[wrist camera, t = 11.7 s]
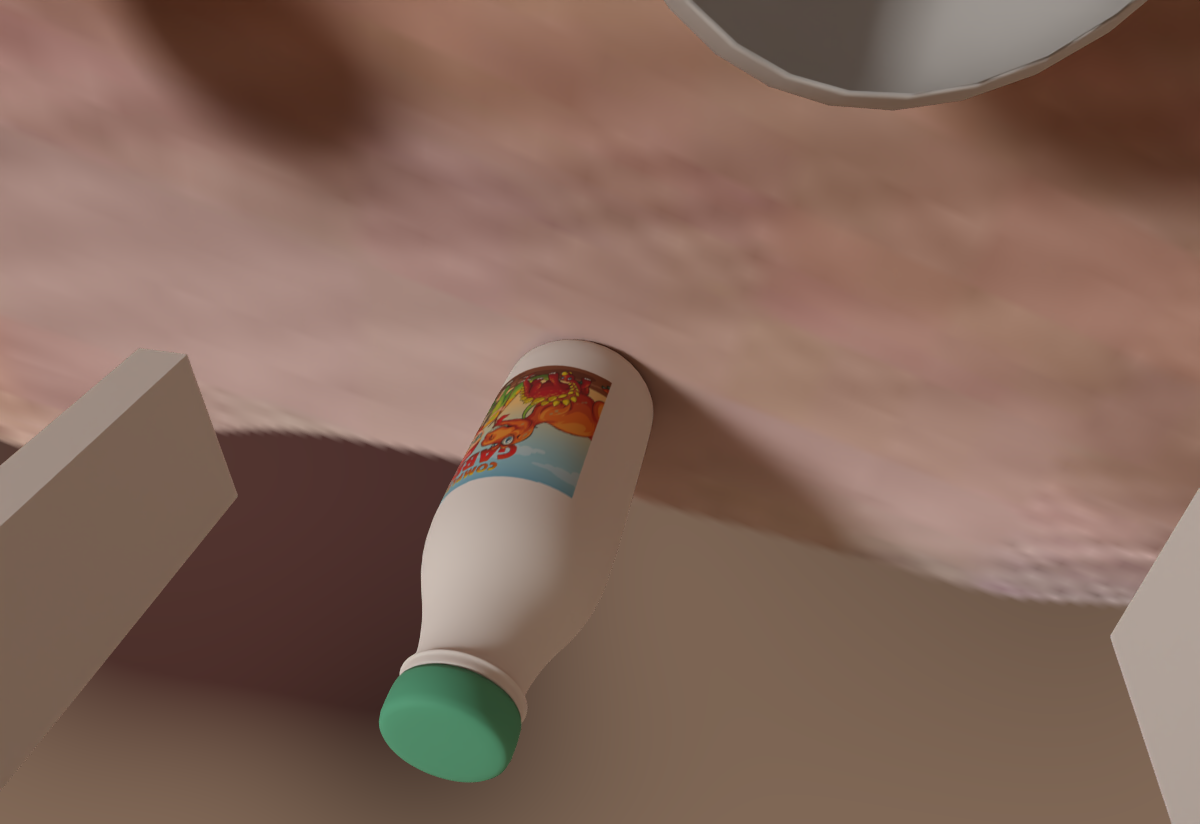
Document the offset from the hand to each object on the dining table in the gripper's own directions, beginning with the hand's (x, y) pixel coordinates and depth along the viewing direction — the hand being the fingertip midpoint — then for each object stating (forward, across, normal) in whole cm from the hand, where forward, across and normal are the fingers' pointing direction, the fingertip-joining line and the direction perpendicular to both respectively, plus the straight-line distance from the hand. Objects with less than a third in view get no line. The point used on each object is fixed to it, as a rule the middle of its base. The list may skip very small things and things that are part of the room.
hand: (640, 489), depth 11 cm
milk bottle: (+25, -7, -18) cm, 32 cm away
